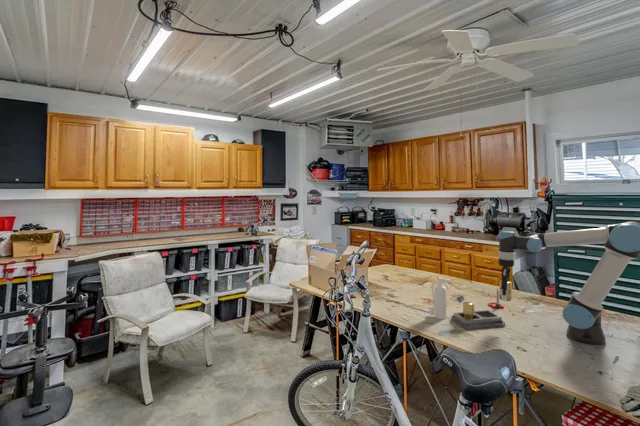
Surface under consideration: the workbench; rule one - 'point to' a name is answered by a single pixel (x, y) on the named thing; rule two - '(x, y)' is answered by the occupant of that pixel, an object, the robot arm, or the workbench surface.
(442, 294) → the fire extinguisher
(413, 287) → the workbench surface
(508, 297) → the sleeve
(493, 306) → the tow hook
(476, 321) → the housing
